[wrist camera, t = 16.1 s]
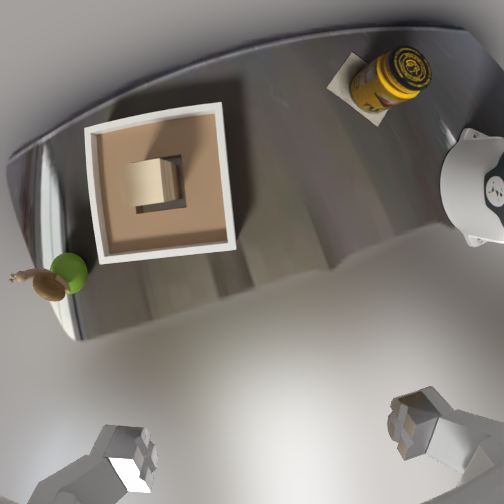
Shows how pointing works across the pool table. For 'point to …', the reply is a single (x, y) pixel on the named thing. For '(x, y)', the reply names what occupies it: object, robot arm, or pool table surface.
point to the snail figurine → (57, 277)
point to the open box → (171, 212)
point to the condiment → (381, 81)
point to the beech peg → (149, 182)
